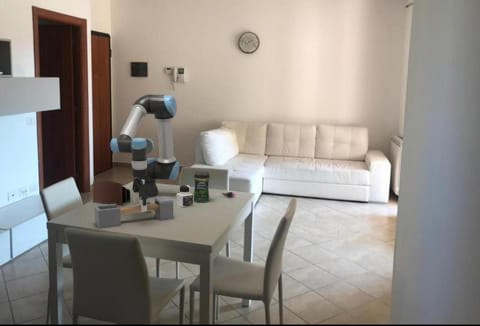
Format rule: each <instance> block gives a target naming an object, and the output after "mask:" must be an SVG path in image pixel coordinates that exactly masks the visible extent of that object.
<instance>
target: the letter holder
mask: <svg viewBox="0 0 480 326" xmlns="http://www.w3.org/2000/svg"><path fill="white" fill-rule="evenodd" d="M94 202H95V203H97V204H102V205H110V204H116V207H117V206H119V207H124V206H125V205H127V204H129V203H131V190H130V188H129V189H128V188H127V187H125V186H124V185H123V184H122V183H119V182H116V181H111V180H93V181H92V203H94ZM95 203H94V204H95Z"/></svg>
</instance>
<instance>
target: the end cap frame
mask: <svg viewBox="0 0 480 326" xmlns="http://www.w3.org/2000/svg"><path fill="white" fill-rule="evenodd" d="M157 203H159V210H154V217H156V218H157V219H158V220H159V221H166V220H172V219H174V200H173V199H172V198H171V197H169V196H157V197H156V196H154V204H157ZM94 223H95V225H96V226H97V228H98V229H102V228H111V227H119V226H121V214H120V207H117V205H116V204H110V205H109V204H102V205H101V204H100V205H94Z"/></svg>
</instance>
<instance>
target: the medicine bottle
mask: <svg viewBox="0 0 480 326" xmlns="http://www.w3.org/2000/svg"><path fill="white" fill-rule="evenodd" d="M176 206H178V207H181V208H184V209H185V208H188V207H189V208H190V207H193V206H194V193H191V186H190V185H188V184H183V185H180V186H179V192H178V193H176Z"/></svg>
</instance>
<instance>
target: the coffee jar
mask: <svg viewBox="0 0 480 326" xmlns="http://www.w3.org/2000/svg"><path fill="white" fill-rule="evenodd" d="M210 178H211V177H210V173H209V171H204V170H203V171H199V170H198V171H195V172H194V175H193V179H194V191H193V202H196V203H208V202H209V201H210V190H209V188H210V187H209V186H210V185H209V183H210Z"/></svg>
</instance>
